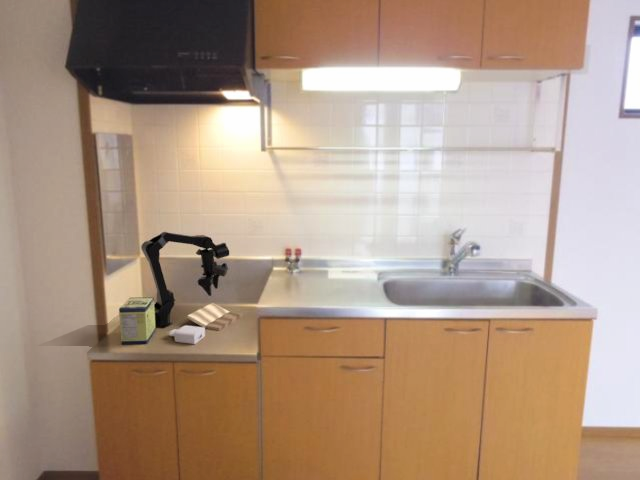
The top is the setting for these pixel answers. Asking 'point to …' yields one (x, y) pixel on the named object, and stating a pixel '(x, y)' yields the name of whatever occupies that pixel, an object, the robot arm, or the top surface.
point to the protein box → (137, 320)
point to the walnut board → (224, 321)
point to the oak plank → (207, 314)
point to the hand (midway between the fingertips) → (213, 292)
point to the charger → (188, 334)
